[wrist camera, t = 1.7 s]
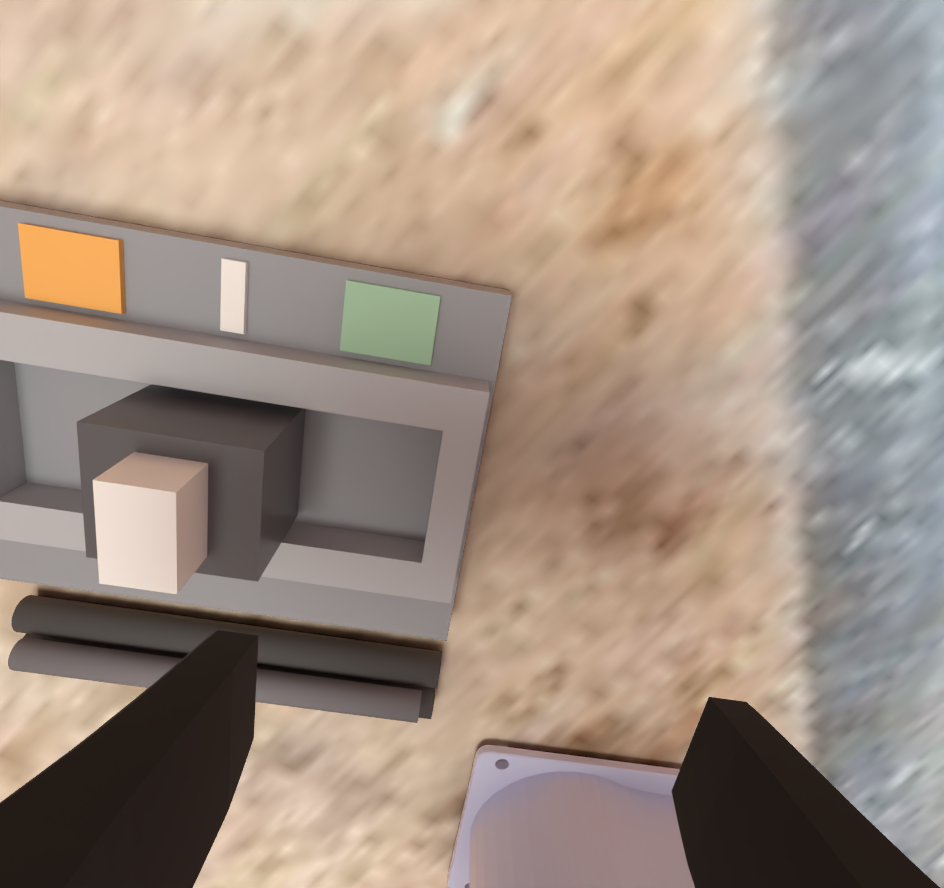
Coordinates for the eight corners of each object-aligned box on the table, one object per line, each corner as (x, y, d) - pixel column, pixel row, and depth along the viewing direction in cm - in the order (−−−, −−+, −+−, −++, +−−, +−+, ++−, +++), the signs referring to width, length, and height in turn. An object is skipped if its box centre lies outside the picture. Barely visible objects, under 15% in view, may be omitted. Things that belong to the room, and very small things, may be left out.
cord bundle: (442, 644, 21) (439, 689, 19) (431, 700, 22) (427, 749, 20) (35, 588, 20) (-14, 629, 18) (42, 649, 21) (-4, 694, 19)
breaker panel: (508, 289, 16) (515, 301, 14) (448, 611, 20) (444, 666, 18) (-7, 199, 16) (-100, 194, 13) (32, 552, 19) (-35, 602, 17)
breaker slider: (305, 405, 16) (238, 478, 11) (297, 514, 17) (233, 621, 13) (156, 381, 16) (26, 446, 11) (159, 494, 17) (41, 595, 12)
